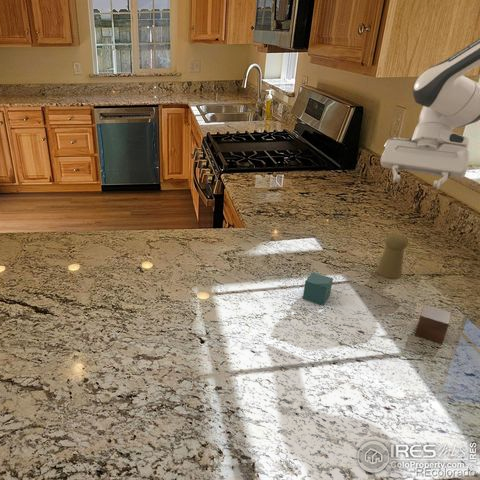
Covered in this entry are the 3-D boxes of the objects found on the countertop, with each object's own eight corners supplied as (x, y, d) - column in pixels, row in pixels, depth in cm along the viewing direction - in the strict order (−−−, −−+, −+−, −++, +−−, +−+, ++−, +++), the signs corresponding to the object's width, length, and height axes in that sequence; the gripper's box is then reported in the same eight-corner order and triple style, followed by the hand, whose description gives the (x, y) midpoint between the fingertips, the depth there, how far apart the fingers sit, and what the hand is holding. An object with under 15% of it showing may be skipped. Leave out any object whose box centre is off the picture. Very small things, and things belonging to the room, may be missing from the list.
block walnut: (414, 335, 90) (420, 315, 87) (418, 323, 93) (423, 304, 91) (442, 344, 87) (449, 324, 85) (444, 331, 91) (451, 312, 88)
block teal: (302, 298, 102) (305, 280, 100) (309, 289, 106) (312, 272, 104) (323, 305, 100) (326, 287, 97) (329, 295, 103) (333, 278, 101)
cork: (372, 273, 113) (381, 235, 108) (380, 265, 117) (389, 228, 112) (397, 281, 109) (407, 242, 104) (404, 272, 113) (414, 235, 108)
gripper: (388, 129, 119) (373, 172, 116) (476, 139, 108) (461, 186, 105) (387, 142, 124) (373, 183, 121) (471, 153, 113) (457, 198, 110)
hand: (415, 185), depth 113 cm, fingers open, 8 cm apart
